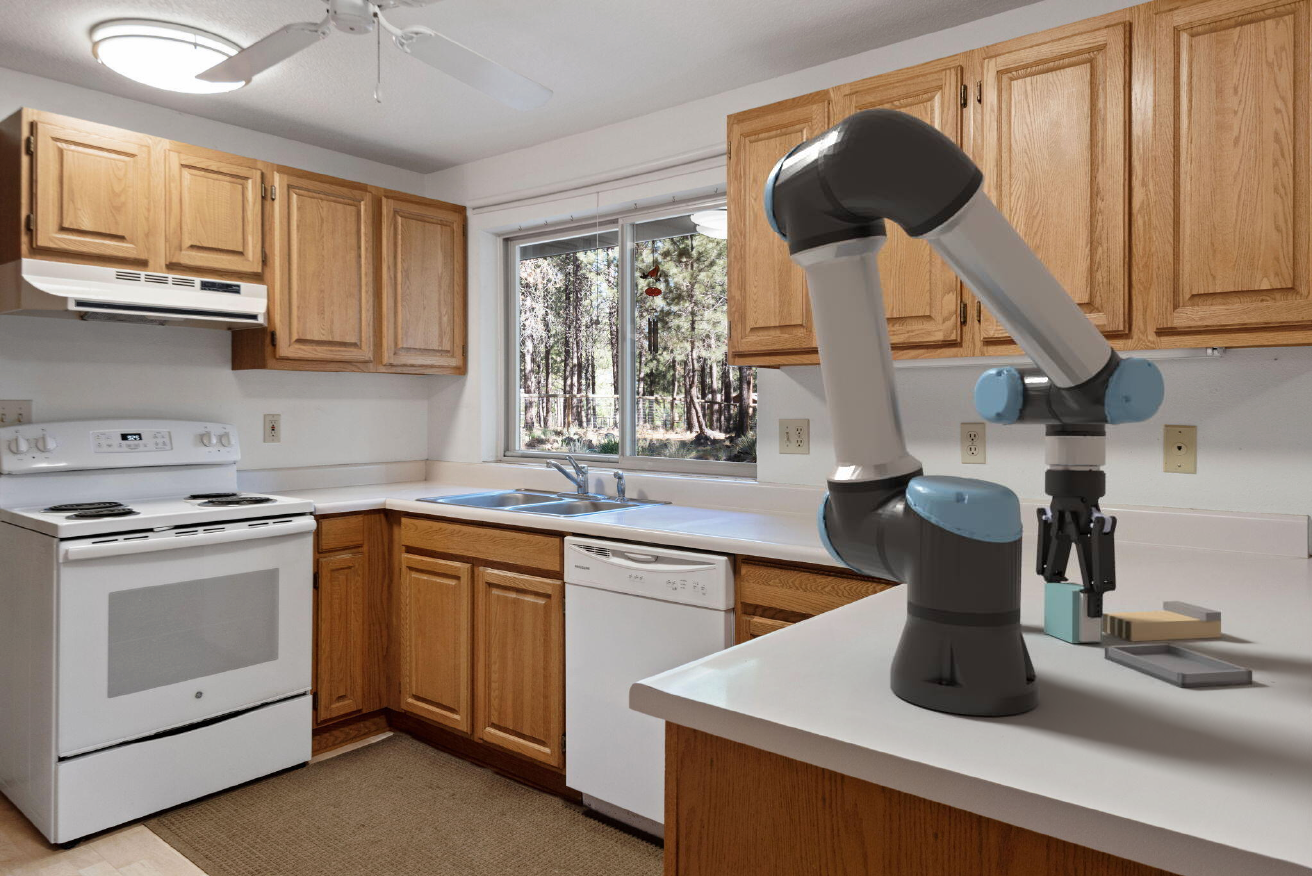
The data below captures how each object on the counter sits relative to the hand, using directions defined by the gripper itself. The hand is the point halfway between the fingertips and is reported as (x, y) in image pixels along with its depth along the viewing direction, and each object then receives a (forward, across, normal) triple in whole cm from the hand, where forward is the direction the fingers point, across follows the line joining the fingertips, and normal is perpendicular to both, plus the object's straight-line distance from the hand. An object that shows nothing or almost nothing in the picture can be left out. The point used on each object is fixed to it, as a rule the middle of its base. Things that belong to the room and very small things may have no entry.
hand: (1073, 634), depth 115 cm
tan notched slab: (0, 0, -14) cm, 14 cm away
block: (0, 0, 0) cm, 0 cm away
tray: (0, -16, -2) cm, 16 cm away
